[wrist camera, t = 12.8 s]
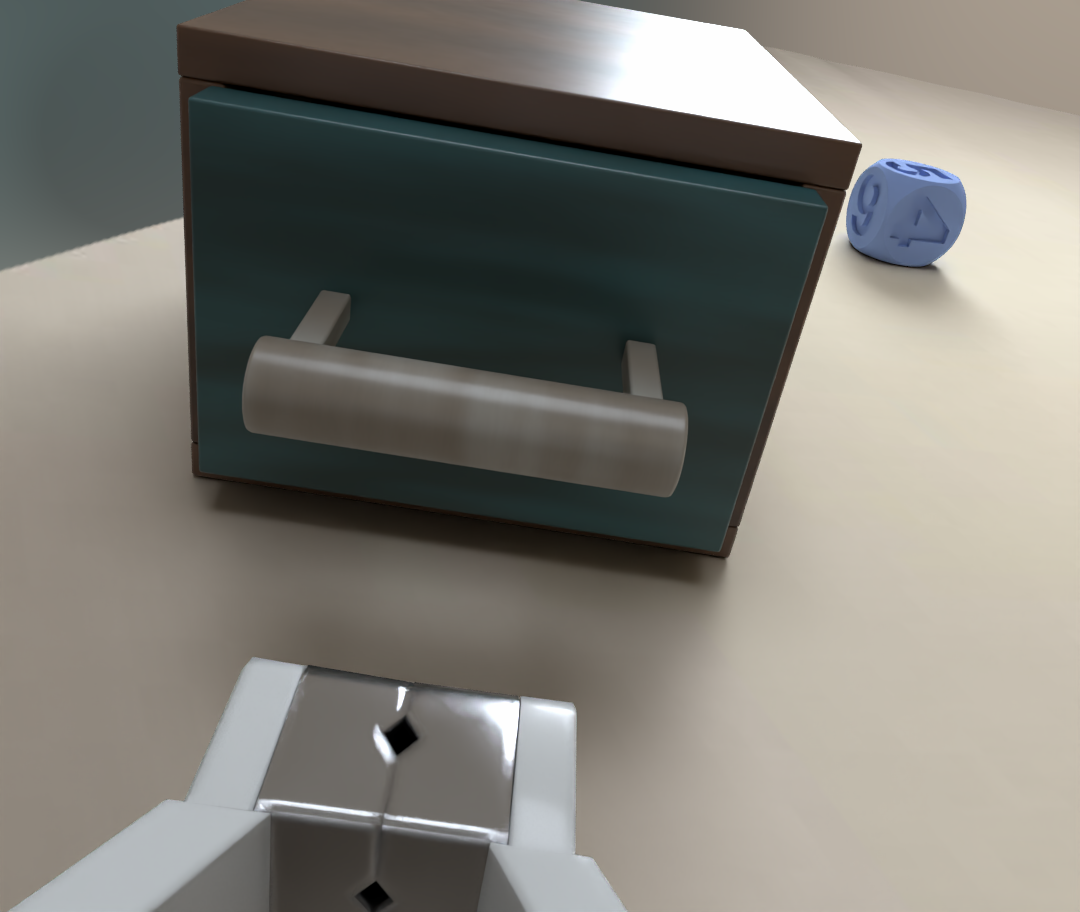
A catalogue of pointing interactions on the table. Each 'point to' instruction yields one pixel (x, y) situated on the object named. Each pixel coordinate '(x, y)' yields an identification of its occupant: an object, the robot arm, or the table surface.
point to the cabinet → (534, 108)
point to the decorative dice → (905, 212)
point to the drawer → (485, 316)
